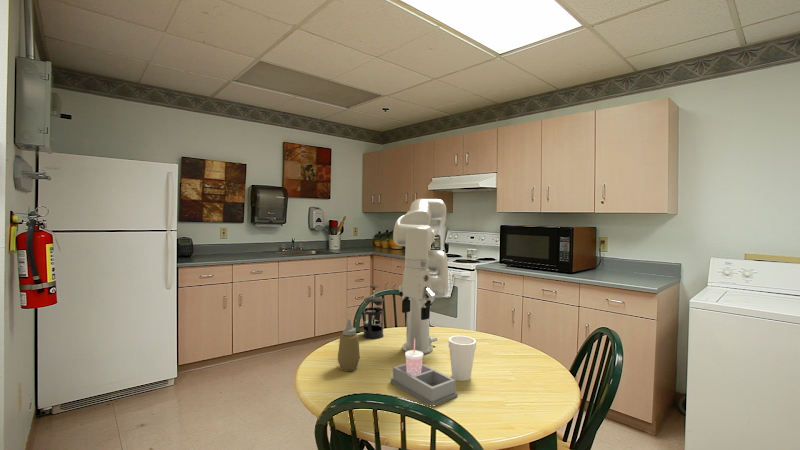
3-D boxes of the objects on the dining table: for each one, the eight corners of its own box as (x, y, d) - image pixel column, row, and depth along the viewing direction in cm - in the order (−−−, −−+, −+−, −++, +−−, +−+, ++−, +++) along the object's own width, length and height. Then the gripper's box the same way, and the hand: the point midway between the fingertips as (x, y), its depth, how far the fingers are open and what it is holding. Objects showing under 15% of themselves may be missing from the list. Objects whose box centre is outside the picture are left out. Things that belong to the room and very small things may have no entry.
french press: (378, 340, 168) (379, 288, 167) (359, 338, 170) (359, 287, 169) (387, 332, 179) (388, 284, 178) (368, 330, 182) (369, 282, 181)
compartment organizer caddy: (390, 382, 127) (390, 367, 127) (415, 374, 134) (415, 359, 134) (431, 407, 111) (432, 390, 111) (457, 396, 118) (458, 380, 118)
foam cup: (476, 373, 135) (477, 337, 135) (473, 384, 126) (474, 346, 126) (450, 369, 138) (451, 334, 138) (445, 380, 129) (445, 342, 129)
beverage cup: (406, 375, 130) (407, 334, 129) (424, 377, 128) (425, 336, 128) (402, 382, 124) (403, 340, 124) (420, 385, 123) (421, 342, 122)
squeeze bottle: (355, 374, 133) (356, 323, 132) (334, 371, 134) (334, 321, 134) (362, 365, 141) (363, 316, 140) (342, 362, 142) (342, 315, 142)
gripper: (443, 266, 120) (442, 320, 121) (408, 260, 134) (407, 308, 135) (425, 268, 115) (424, 324, 116) (391, 261, 129) (390, 311, 130)
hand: (415, 315), depth 125 cm, fingers open, 9 cm apart
